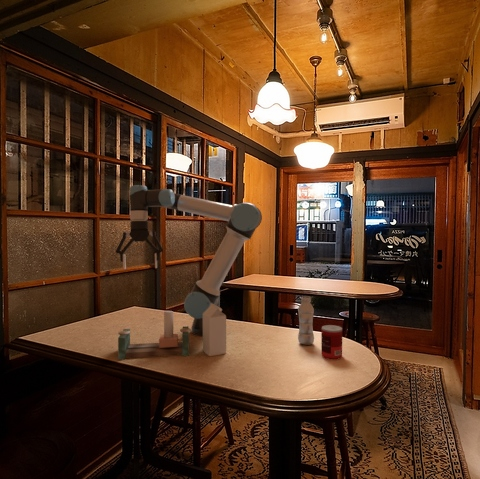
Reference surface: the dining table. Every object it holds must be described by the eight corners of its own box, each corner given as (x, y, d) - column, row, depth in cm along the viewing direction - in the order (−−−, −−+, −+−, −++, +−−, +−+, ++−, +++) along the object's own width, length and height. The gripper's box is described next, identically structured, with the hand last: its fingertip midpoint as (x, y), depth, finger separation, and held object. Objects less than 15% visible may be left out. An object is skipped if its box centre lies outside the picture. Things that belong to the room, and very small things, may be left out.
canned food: (343, 354, 136) (343, 326, 136) (340, 361, 129) (340, 331, 129) (323, 351, 140) (323, 324, 139) (319, 358, 132) (319, 329, 132)
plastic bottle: (314, 347, 145) (314, 298, 144) (297, 346, 146) (297, 298, 145) (314, 342, 151) (314, 295, 150) (298, 341, 152) (298, 295, 152)
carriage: (178, 341, 144) (177, 309, 143) (177, 346, 137) (177, 313, 136) (160, 341, 143) (160, 310, 142) (159, 347, 136) (158, 314, 135)
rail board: (191, 345, 147) (190, 325, 147) (191, 355, 135) (191, 333, 135) (121, 348, 143) (121, 328, 143) (115, 359, 131) (115, 337, 131)
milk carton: (209, 356, 134) (209, 307, 133) (202, 351, 140) (202, 303, 139) (226, 353, 137) (226, 305, 136) (218, 348, 143) (218, 302, 143)
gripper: (168, 220, 162) (169, 266, 162) (111, 221, 157) (112, 268, 158) (167, 219, 154) (168, 268, 155) (107, 220, 150) (109, 270, 150)
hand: (140, 268), depth 156 cm, fingers open, 13 cm apart
